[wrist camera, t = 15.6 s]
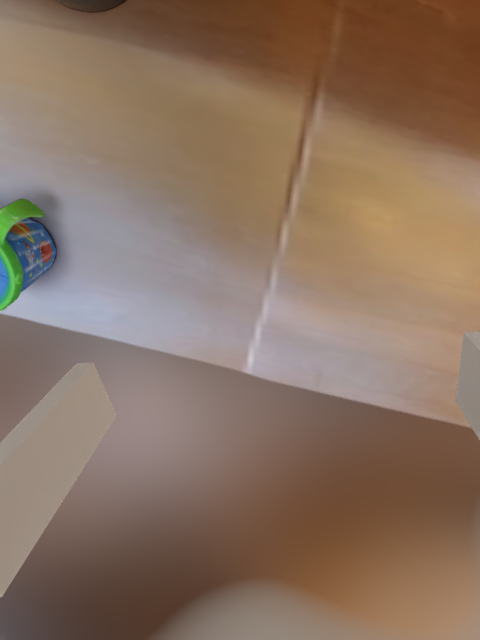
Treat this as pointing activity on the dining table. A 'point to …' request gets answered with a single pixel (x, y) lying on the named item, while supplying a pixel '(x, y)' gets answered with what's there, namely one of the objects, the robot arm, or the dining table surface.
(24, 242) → the snack cup
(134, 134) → the dining table surface
